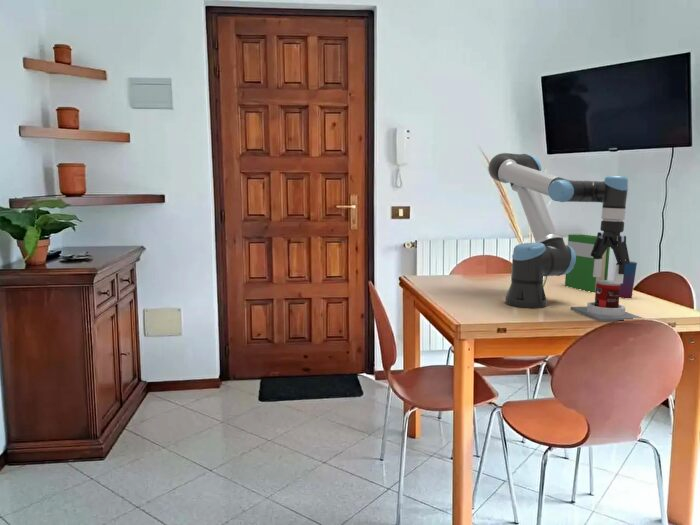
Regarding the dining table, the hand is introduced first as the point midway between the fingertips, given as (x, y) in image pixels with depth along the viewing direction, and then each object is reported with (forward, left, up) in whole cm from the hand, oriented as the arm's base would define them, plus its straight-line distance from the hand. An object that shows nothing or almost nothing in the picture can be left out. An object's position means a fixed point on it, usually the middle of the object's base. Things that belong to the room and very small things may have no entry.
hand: (607, 280), depth 214 cm
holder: (0, 0, -13) cm, 13 cm away
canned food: (0, -1, -12) cm, 12 cm away
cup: (+29, +33, -13) cm, 46 cm away
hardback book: (+23, +54, -13) cm, 60 cm away
